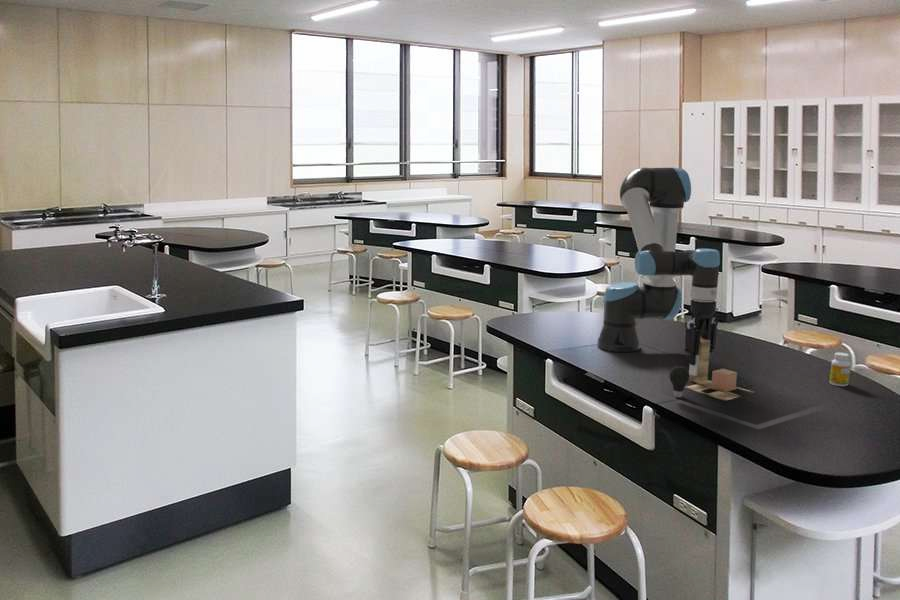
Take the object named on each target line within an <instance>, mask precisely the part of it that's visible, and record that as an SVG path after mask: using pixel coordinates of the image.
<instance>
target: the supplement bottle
mask: <svg viewBox="0 0 900 600" xmlns="http://www.w3.org/2000/svg"><path fill="white" fill-rule="evenodd" d="M849 359H850V353H846V352H835V353H834V359H832V360H831V365H830V374H829V384H830V385H833V386H837V387H846V386H848V385H849V381H850V373H851V361H849Z"/></svg>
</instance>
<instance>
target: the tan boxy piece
mask: <svg viewBox="0 0 900 600" xmlns="http://www.w3.org/2000/svg"><path fill="white" fill-rule="evenodd" d="M709 351H710V340H709V339H704V338H702V337H701V339H700V343H699V348H698V353H697V355H699V365H698V376H695V375H691V374H689V380H688V381H691V382H692V383H693V382H694V383H696V384H697V383H701V384H704V385H707V386H711V385H712V381H711V380H708V378H709V377H708V375H709V363H710V362H709V361H710V354H709ZM688 365H689V367H690V364H688ZM734 390H735V391H736V390H737V388H735V389H732V390H728V391H727V392H732V391H734Z"/></svg>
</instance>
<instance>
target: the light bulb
mask: <svg viewBox="0 0 900 600" xmlns="http://www.w3.org/2000/svg"><path fill="white" fill-rule="evenodd" d="M669 380H670V383H671V384H672V388H673V397H675V398H676V400H680V398H682V397H683V393H684V390H685V388H684V387H686V385H687V384H688V382H689V381H690V380H689V369H687V368H686V367H685V366H683V365H676V366H673V367H672V369H671V370H670V372H669Z"/></svg>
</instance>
